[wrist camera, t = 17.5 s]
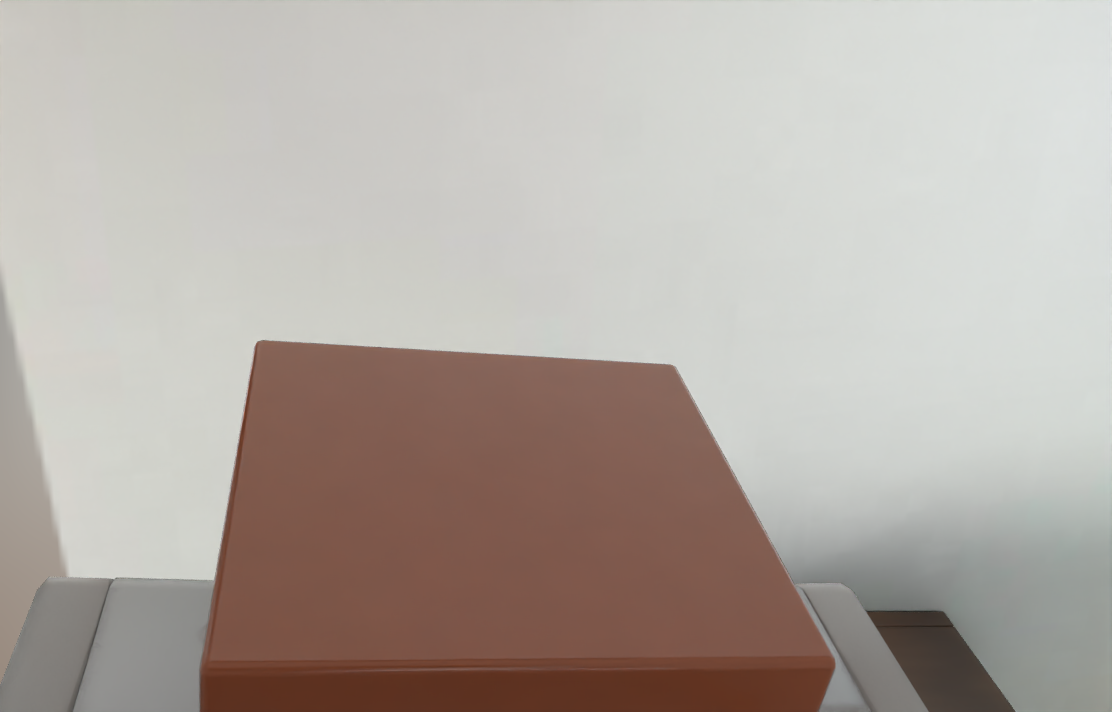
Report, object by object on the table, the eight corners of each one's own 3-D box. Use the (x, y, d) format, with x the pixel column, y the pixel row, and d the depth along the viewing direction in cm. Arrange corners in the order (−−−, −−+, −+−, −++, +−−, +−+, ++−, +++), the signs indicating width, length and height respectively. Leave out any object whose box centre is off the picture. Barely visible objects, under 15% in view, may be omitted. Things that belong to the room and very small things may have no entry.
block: (246, 663, 11) (198, 1061, 8) (254, 337, 9) (197, 668, 6) (603, 660, 12) (702, 1016, 9) (676, 362, 10) (843, 663, 7)
